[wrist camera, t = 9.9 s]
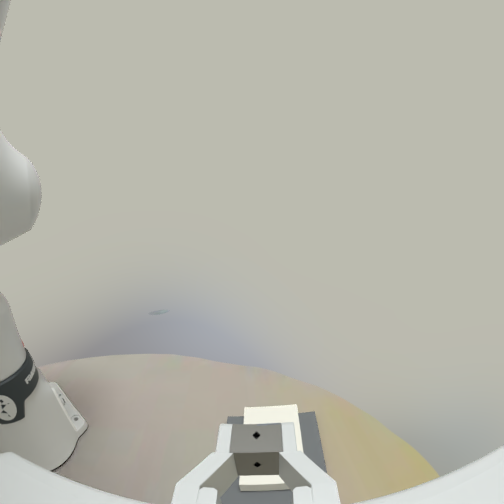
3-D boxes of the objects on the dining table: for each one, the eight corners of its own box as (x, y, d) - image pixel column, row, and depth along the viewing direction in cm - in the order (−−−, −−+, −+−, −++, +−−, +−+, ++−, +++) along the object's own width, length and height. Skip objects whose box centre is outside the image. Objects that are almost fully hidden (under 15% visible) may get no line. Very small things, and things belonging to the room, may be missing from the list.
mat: (336, 529, 17) (336, 528, 17) (213, 535, 17) (212, 534, 17) (314, 413, 35) (314, 411, 35) (228, 418, 36) (227, 416, 36)
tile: (307, 481, 22) (296, 404, 35) (239, 484, 23) (244, 407, 35) (306, 488, 23) (296, 413, 35) (240, 491, 23) (245, 416, 36)
